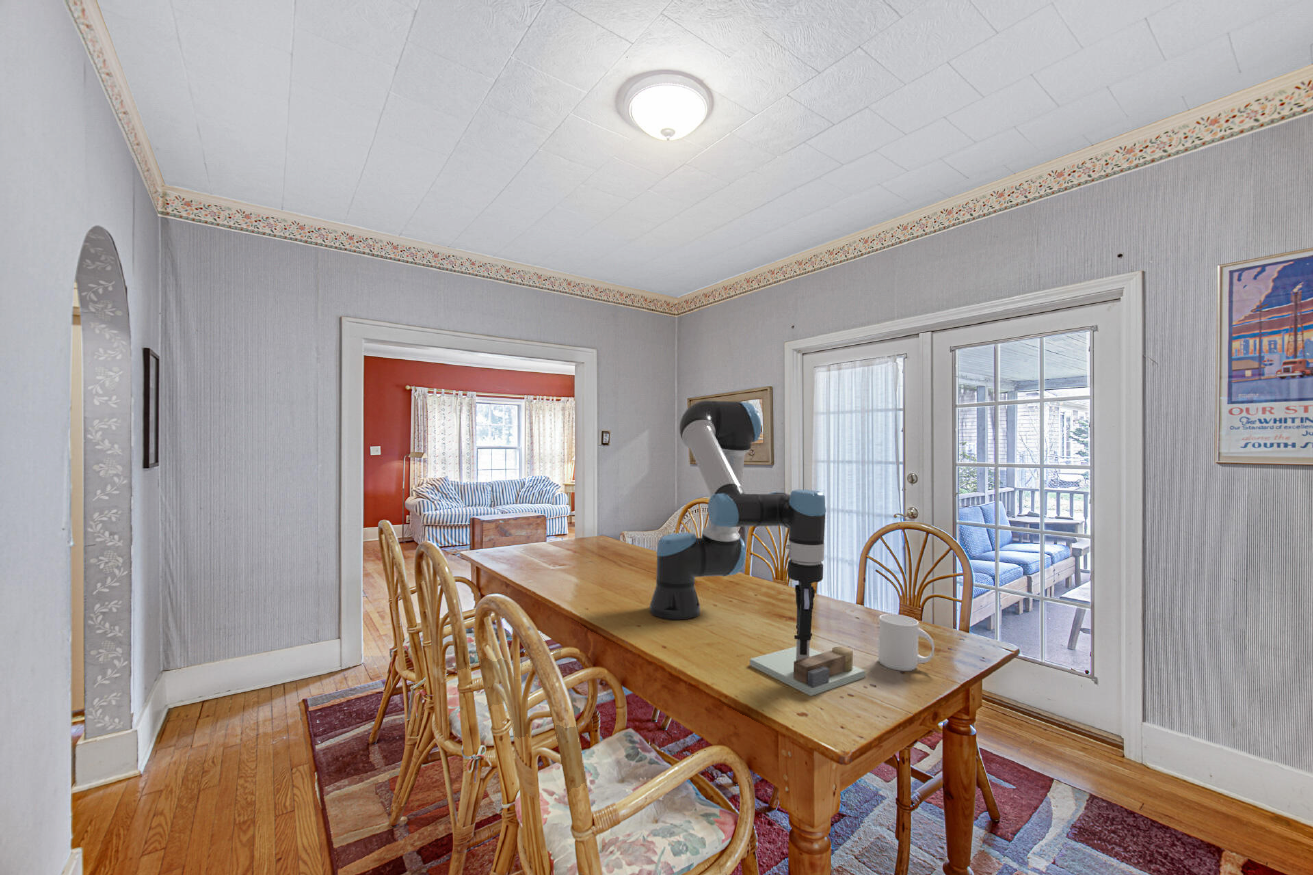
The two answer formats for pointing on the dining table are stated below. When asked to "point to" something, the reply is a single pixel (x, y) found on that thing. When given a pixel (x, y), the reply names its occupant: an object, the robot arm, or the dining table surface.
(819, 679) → the block
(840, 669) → the leg
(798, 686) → the seat board
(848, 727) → the dining table surface
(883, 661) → the mug
